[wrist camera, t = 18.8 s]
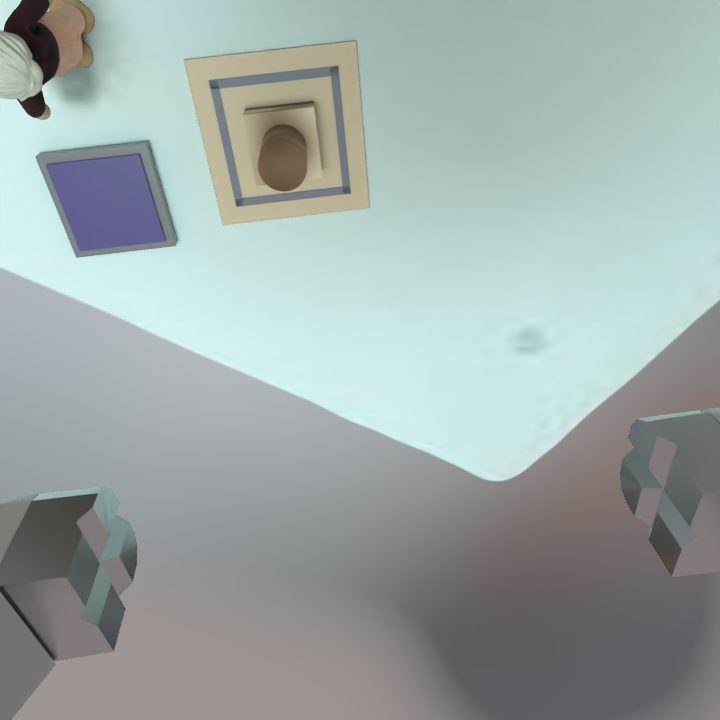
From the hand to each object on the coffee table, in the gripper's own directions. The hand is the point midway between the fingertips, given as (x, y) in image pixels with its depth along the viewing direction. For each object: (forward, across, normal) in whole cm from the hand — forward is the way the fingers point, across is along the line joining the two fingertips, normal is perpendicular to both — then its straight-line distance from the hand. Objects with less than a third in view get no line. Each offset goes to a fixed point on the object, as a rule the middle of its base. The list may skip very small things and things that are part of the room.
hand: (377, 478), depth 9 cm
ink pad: (+39, +17, +7) cm, 43 cm away
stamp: (+39, +3, +4) cm, 39 cm away
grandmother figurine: (+39, +16, -4) cm, 43 cm away
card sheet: (+39, +3, +4) cm, 39 cm away
